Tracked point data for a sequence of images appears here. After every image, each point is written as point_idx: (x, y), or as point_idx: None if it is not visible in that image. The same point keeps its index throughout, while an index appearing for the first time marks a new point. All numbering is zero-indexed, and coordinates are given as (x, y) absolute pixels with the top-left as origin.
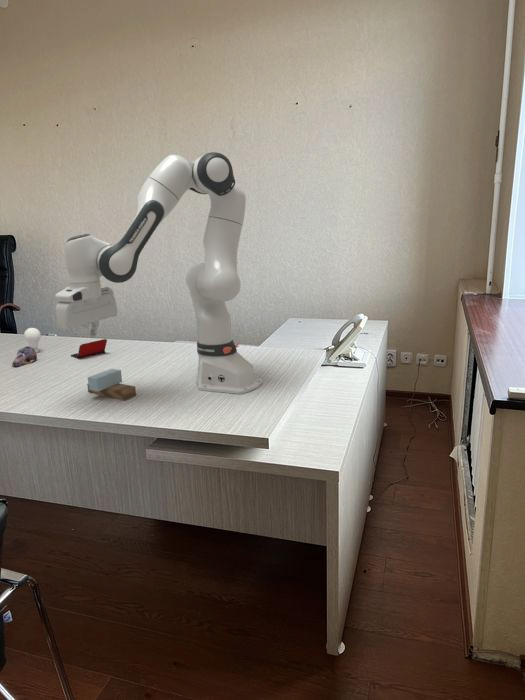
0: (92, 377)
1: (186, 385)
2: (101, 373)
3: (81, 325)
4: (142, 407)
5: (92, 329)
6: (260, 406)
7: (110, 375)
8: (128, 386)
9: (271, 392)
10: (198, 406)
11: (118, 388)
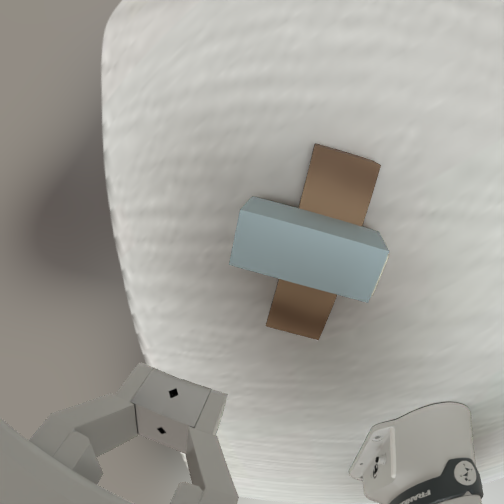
0: (242, 234)
1: (408, 397)
2: (307, 243)
3: (43, 431)
4: (237, 364)
5: (187, 444)
6: (293, 489)
7: (306, 283)
8: (315, 320)
9: (357, 491)
10: (274, 442)
11: (289, 298)
